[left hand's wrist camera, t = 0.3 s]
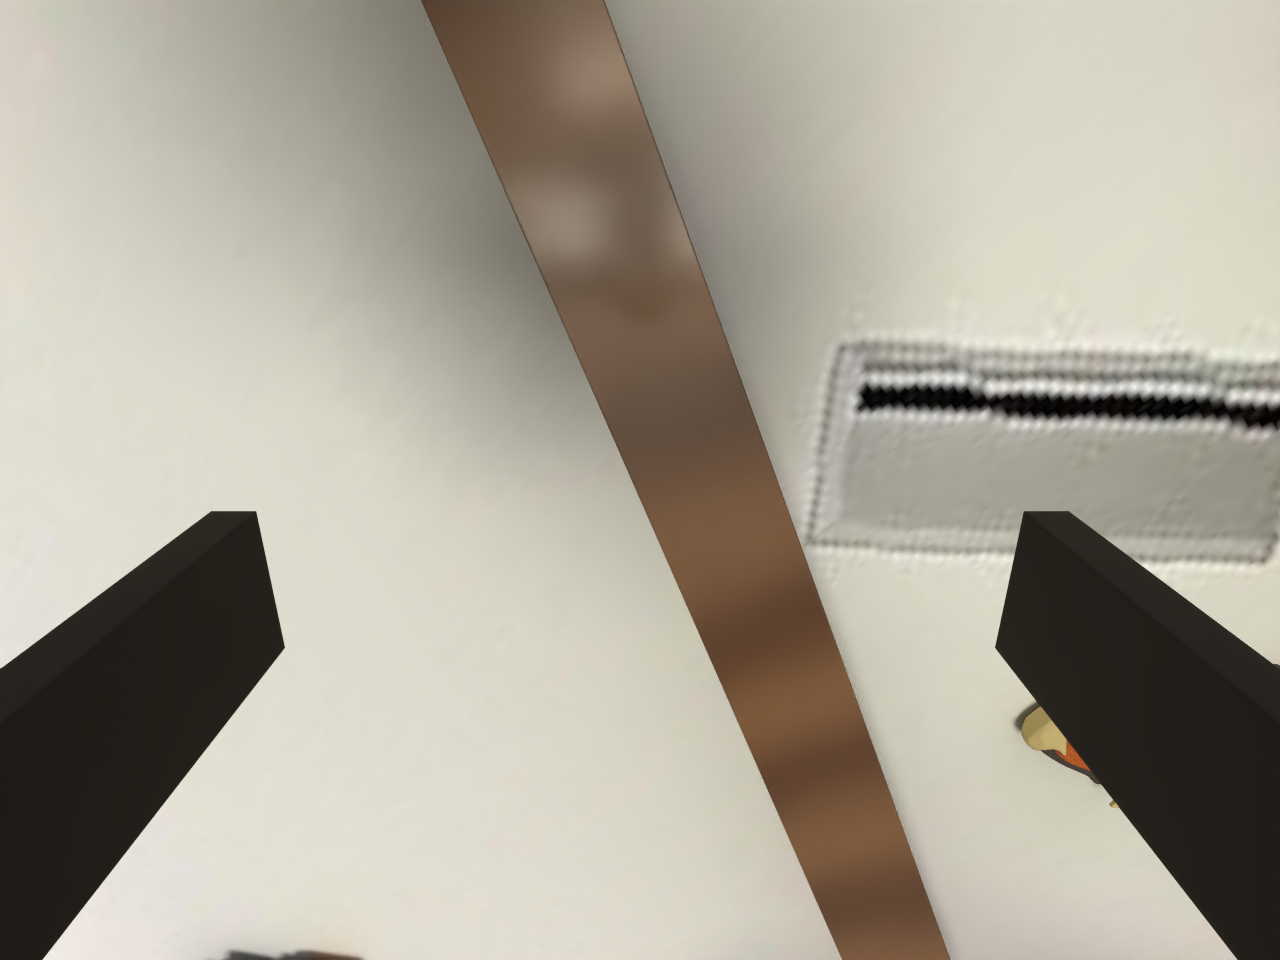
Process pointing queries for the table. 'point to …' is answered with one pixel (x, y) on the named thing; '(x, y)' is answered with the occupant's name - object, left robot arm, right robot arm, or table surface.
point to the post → (687, 438)
